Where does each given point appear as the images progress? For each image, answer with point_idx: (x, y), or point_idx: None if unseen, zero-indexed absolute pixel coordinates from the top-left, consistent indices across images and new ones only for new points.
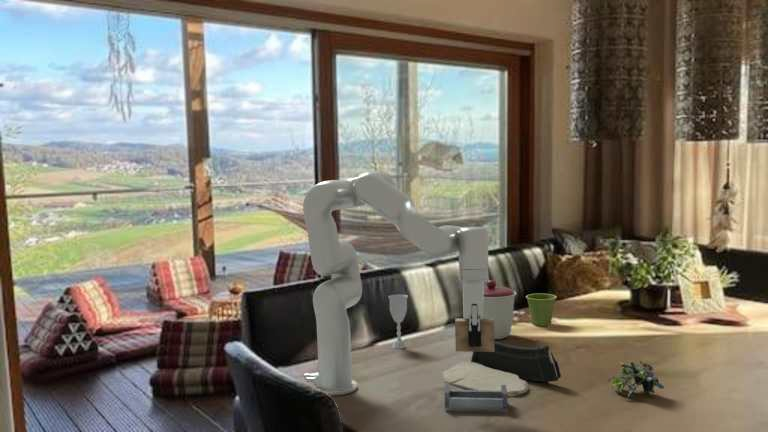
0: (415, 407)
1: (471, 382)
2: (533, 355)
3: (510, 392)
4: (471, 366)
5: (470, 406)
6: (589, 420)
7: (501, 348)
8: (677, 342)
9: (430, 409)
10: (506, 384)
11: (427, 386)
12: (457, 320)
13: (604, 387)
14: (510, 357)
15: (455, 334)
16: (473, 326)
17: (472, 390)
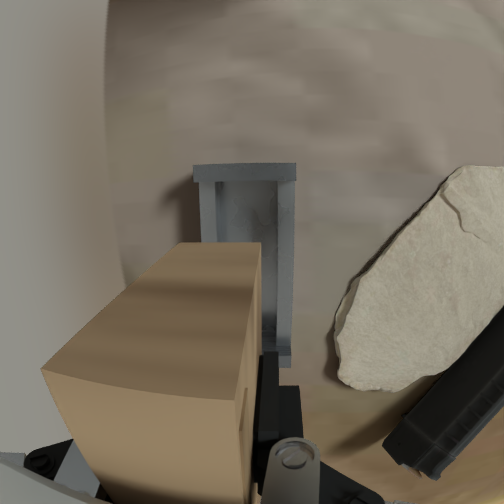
0: (231, 75)
1: (429, 250)
2: (446, 438)
3: (340, 355)
4: None
5: None
6: None
7: None
8: (492, 500)
9: (217, 120)
10: (392, 348)
11: (420, 110)
12: (86, 407)
13: (365, 481)
14: (493, 373)
15: (126, 288)
16: (23, 458)
17: (290, 259)
